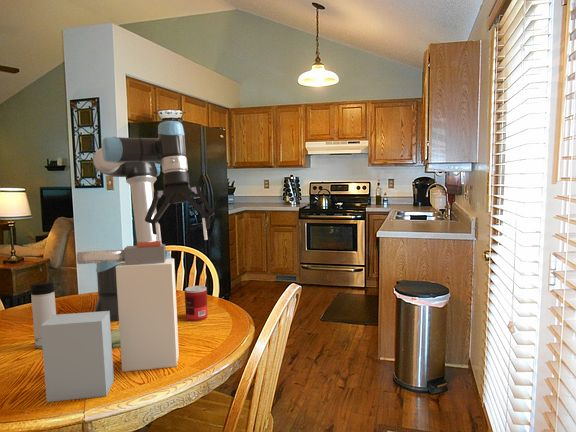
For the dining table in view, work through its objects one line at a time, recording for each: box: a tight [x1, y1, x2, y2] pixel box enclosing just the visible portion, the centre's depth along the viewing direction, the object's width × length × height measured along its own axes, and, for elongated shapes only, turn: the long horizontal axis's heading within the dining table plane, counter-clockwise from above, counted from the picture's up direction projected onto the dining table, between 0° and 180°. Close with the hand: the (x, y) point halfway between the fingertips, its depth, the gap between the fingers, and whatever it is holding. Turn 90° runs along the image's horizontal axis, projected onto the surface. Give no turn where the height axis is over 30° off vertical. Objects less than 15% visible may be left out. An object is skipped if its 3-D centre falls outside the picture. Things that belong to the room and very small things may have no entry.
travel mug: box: [30, 281, 57, 350], centre depth 135 cm, size 6×7×20 cm
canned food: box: [184, 285, 209, 322], centre depth 159 cm, size 8×8×11 cm
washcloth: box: [111, 328, 121, 349], centre depth 140 cm, size 13×18×3 cm
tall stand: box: [116, 257, 180, 372], centre depth 120 cm, size 8×14×28 cm, turn 100°
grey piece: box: [76, 240, 166, 265], centre depth 117 cm, size 4×22×6 cm, turn 100°
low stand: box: [41, 311, 115, 403], centre depth 105 cm, size 8×13×18 cm, turn 100°
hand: (183, 242), depth 131 cm, fingers open, 13 cm apart
